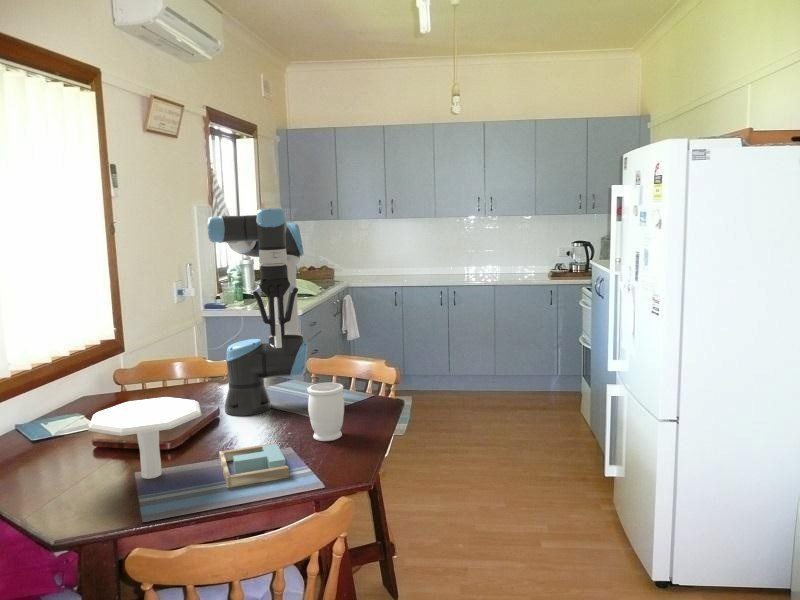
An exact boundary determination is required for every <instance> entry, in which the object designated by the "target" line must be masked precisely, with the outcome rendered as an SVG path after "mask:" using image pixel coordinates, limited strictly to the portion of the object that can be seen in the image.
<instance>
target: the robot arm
mask: <svg viewBox="0 0 800 600" xmlns="http://www.w3.org/2000/svg"><path fill="white" fill-rule="evenodd" d="M300 230H301V229H300V227H299V225H298V224H297V223H295V222H293V223H292V222H286V218H285V211H284V209H283V208H279V207H278V208H275V207H274V208H259V209H257V211H256V214H253V215H252V214H251V215H217V216H210V217H209V218H208V220H207V236H208V240H209V241H210V242H211V243H218V244H221V243H226V244H227V245H228V246H229V248H230V249H231V250H232V251H233V252H236V253H238V254H240V255H244V256H247V257H253V258H259V259H258V262H259V264H260V266H259V273H260V282H259V284H258V287H257V288H256V289H252V290H251V294H252V295H253V296H254V298H255V300H256V303H257V307H258V310H259V313H260V315H261V318H262V322H263V323H264V324H266V325H269V331H270V335H269V337H268V343H264V342H263V341H262V340H261V339H260V338H250V339H245V340H240V341H237V342H234V343H232V344H230V345H228V347H227V349H226V359H225V361H226V365H227V366H226V368H227V381H228V389H227V390H228V391H227V394H226V399H225V401H224V412H225V414H227V415H231V416H235V417H239V416H241V417H242V416H243V417H244V416H245V417H246V416H254V415H258V414H262V413H265V412H267V411H269V410H270V409H271V408H272V404H271V399H270V396H269V394H268V392H267V389H266V387H265V379H271V378H286V377H290V378H293V377H299V376H303V375H304V374H305V372H306V368H307V361H308V360H307V359H308V348H309V347H308V345H309V343H308V341H307V340H304V335H303V334H301V333H300V332H299V314H298V313H299V312H298V310H299V309H298V291H299V288H298V287H297V285H298V284H297V264H298V263H300V260H301V258H300V257H302V256H304V254H305V253H304V247H303V240H302V236H301V231H300ZM262 292H263V293H264V295H265V296H266V297H267V302H268V315H267V312H266V308H265V305H264V302H263V299H262V297H261V295H262Z"/></svg>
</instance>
